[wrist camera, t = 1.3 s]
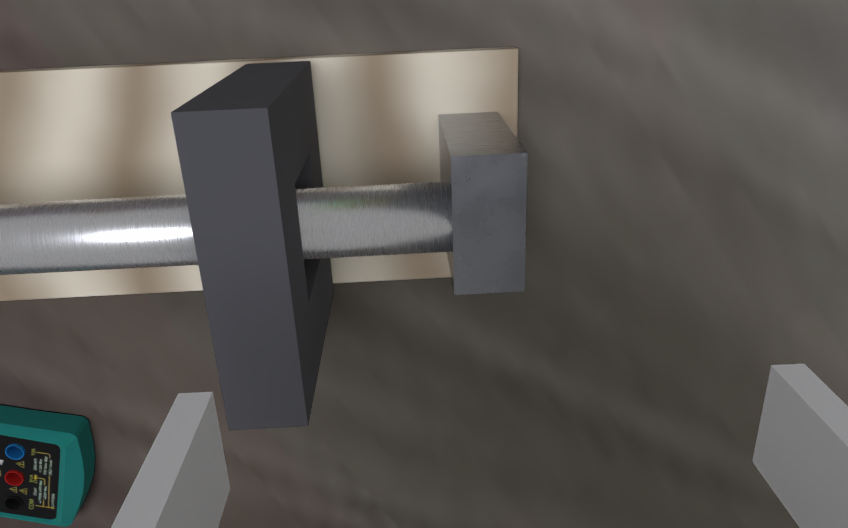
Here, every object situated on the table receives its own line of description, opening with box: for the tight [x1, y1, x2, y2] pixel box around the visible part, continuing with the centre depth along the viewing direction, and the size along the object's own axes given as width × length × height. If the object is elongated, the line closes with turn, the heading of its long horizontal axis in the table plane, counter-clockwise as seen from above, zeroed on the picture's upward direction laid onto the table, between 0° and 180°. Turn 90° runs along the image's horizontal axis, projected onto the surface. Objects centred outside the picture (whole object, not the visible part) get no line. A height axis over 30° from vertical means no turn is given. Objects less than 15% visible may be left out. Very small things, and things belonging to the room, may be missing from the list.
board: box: [0, 47, 518, 301], centre depth 36 cm, size 39×12×1 cm, turn 92°
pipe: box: [0, 112, 527, 295], centre depth 32 cm, size 37×6×9 cm, turn 92°
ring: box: [171, 61, 334, 430], centre depth 29 cm, size 3×12×12 cm, turn 2°
